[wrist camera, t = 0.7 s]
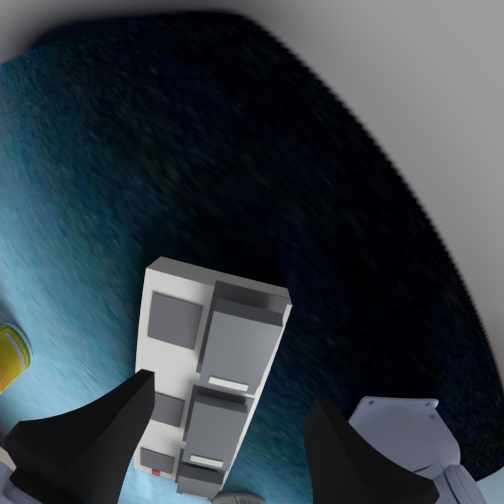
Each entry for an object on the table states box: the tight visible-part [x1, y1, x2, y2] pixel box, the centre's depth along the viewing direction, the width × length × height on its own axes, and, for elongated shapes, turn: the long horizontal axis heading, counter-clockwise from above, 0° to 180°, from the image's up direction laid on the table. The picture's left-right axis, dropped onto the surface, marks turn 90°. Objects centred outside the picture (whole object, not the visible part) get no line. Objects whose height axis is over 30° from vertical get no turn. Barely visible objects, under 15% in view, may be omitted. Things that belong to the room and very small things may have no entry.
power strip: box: [134, 256, 292, 491], centre depth 21 cm, size 9×23×3 cm, turn 166°
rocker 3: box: [177, 464, 224, 501], centre depth 20 cm, size 4×6×2 cm, turn 165°
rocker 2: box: [182, 394, 248, 471], centre depth 19 cm, size 4×6×2 cm, turn 166°
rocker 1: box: [199, 298, 283, 395], centre depth 17 cm, size 4×6×2 cm, turn 166°
